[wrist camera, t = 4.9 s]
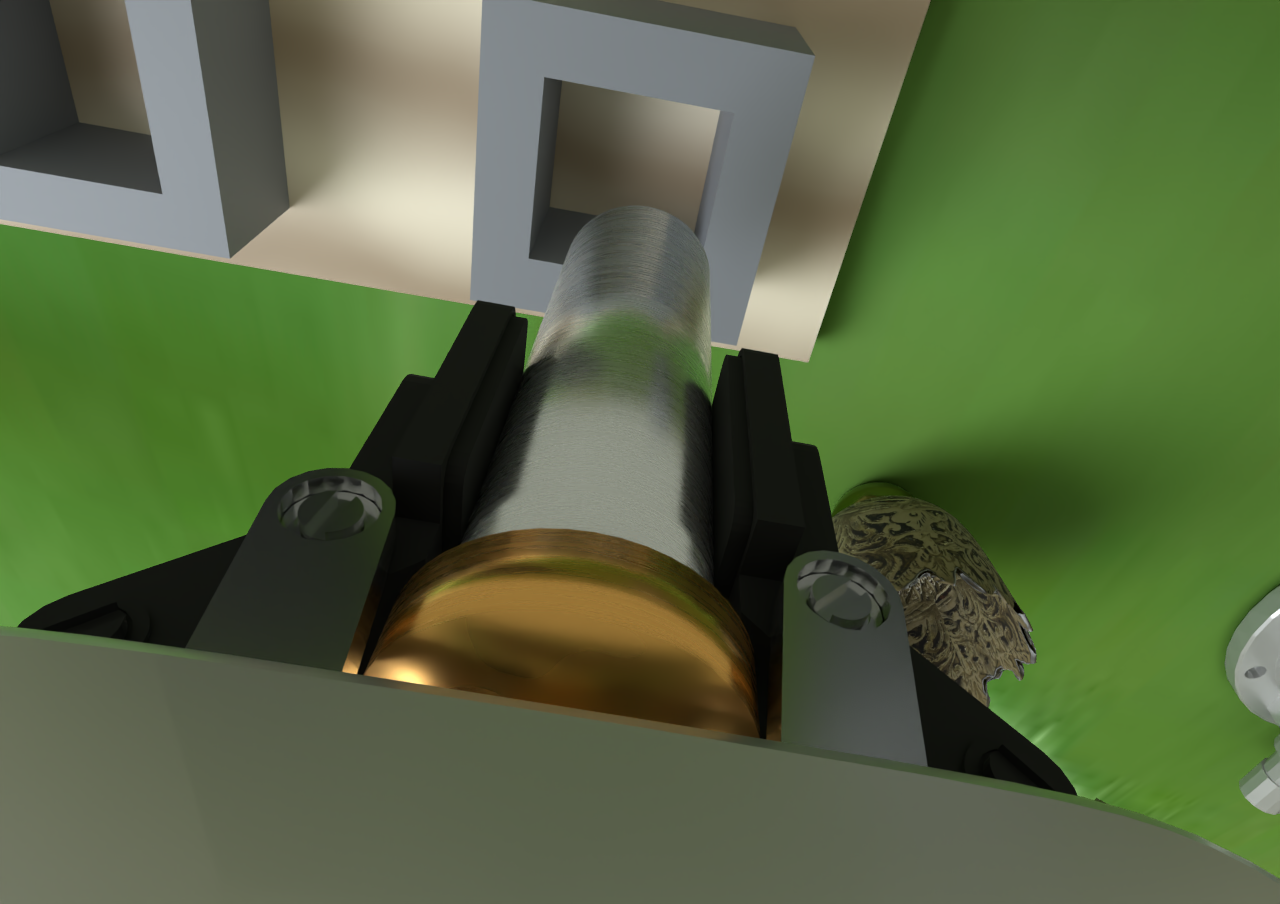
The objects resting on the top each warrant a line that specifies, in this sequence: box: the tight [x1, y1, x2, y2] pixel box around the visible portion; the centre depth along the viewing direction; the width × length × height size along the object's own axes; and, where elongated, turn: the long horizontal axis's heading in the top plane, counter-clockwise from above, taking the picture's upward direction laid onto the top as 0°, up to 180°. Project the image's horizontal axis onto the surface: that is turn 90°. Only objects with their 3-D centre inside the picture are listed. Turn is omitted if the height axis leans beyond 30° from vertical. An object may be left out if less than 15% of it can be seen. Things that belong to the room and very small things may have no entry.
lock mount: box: [470, 0, 815, 346], centre depth 21 cm, size 8×8×4 cm
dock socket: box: [0, 0, 290, 259], centre depth 21 cm, size 8×8×4 cm
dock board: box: [0, 0, 931, 362], centre depth 23 cm, size 12×28×2 cm, turn 81°
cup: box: [831, 482, 1036, 708], centre depth 29 cm, size 8×7×8 cm
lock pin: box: [364, 205, 760, 738], centre depth 12 cm, size 4×4×11 cm
